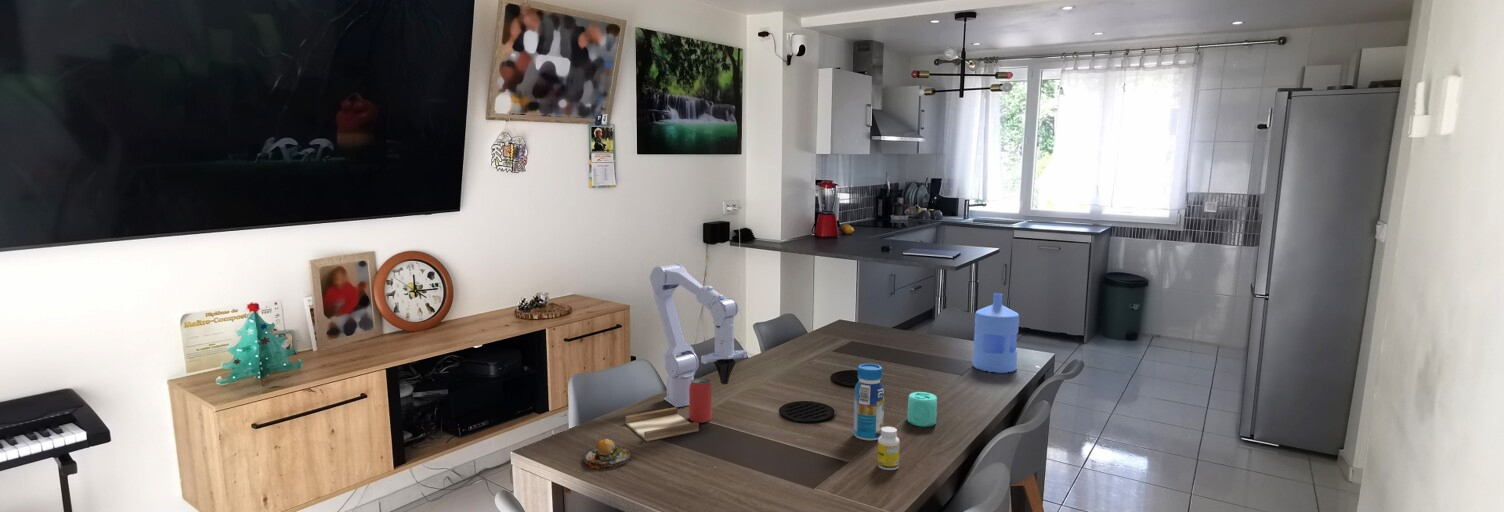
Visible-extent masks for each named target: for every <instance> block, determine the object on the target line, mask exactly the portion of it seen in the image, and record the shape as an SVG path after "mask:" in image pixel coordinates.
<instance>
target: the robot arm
mask: <svg viewBox="0 0 1504 512" xmlns="http://www.w3.org/2000/svg"><path fill="white" fill-rule="evenodd" d="M649 280H650V282H651V283H650V284H651V287H652V290H653V296H654V297H653V298H654V300H655V303H656V307H657V311H658V314H659V318H660V322H661V324H662V325H661V326H662V328H663V332H664V335H665V338H666V341H667V345H668V349H667V350H666V352H665V353H664V356H663V357H664V361H665V363H664V367H665V371H666V373H667V374H668V376H667V378H666V397H664V398H663V399H664V400H665V402H668V403H669V404H671V405H672V406H674V407H676V408H681V407H686V406H689V387H690V384H691V380H692V379H695V378H694V376H695V374H696V371H697V370H698V368H699V365H700V363H701V364H704V365H705V364H708V363H713V365H714V366H715V368H716V371H717V372H718V376H719V380H720V381H719V382H720V384H722V385H728V384H729V379H730V376H731V373H732V371H733V369H734V367H735V365H736V360H734V359H742V358H744V359H745V358H748V356H747V355H748V351H747V350H745V349H740V350H737V349H736V350H735V343H734V342H735V338H734V337H735V316H736V315H738V312H739V306H738V303H737V302H736V300H735V299H734V298H733V297H725V296H724V295H723V294H721V293H719V292H717V291H716V290H715V289H714V287H713V286H712V285H704V286H703V284H701V283H700V282H699V281H697V279H695V278H694V277H693V276H692V275H691V274H690V273H689V272H688V271H687V268H686V267H684V266H683V265H682V264H680V263H673V264H668V265H663V266H662V265H661V266H657V265H656V266H654V268H653V269H652V270H651V273H650V275H649ZM680 286H681V287H682V288H684V289H685V290H687V291H689V292H690V293H691V294H694V295H695V296H696V297H695V298H696V302H698V303H699V304H700V305H702V306H703V307H704V308H706V309H707V310H709V311H710V314H711V317H712V320H713V325H714V352H712V353H708V354H704V355H701V356H700V362H699V358H698V355H697V354H696V353H695V351H694V348H693V346H691V345H690V344H689V343H687V342H686V340H685V336H684V333H683V329H682V327H681V322H680V319H679V317H678V316H679V315H678V313H677V309H676V305H675V303H674V299H673V295H674V292H676V290H678V288H679V287H680Z"/></svg>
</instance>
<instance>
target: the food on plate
mask: <svg viewBox="0 0 1504 512" xmlns="http://www.w3.org/2000/svg"><path fill="white" fill-rule="evenodd" d="M602 438H603V439H601V440H600V441H599V442H598V444H597V446H596V448H593V449H590V450H589V451H587V452H586V453H585V454H584V464H586V465H588V467H589V468H591V469H594V468H595V469H596V470H612V469H618V468H621V467H624V466H627V464H629V462H631V461H632V458H633V457H632V451H631V450H630V449H628V448H626V447H623V446H620V445H619V446H618V445H615V442H614V441H613V440H611V439H608V438H604V437H602Z"/></svg>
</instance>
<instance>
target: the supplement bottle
mask: <svg viewBox="0 0 1504 512" xmlns="http://www.w3.org/2000/svg"><path fill="white" fill-rule="evenodd" d="M881 435H882V436H880V437H879V438H878V440H877V460H876V461H877V467H878V468H879V469H881V470H884V471H895V470H897V469H899V467H900V446H901V445H900V438H899V437H898V429H897V428H895V427H893V426H883V428H881Z"/></svg>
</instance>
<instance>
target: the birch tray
mask: <svg viewBox="0 0 1504 512" xmlns="http://www.w3.org/2000/svg"><path fill="white" fill-rule="evenodd" d="M624 418H625V425H627V426H628V427H629V428H630V429H631V430H632V431H634V432H635V433H636V434H637V435H638V436H640V437H641V439H643V440H644V441H646V442H649V441H655V440H660V439H664V438H669V437H674V436H680V435H685V434H690V433H694V432H696V433H697V432H699V431H700V423H698V422H690V421H688V420H687V419H685V418H684V417H683V416H681V415H680V414H678V407H675V406H674V407H670V408H664V409H658V410H654V411H653V410H652V411H646V412H642V413H641V412H640V413H635V414H629V415H625V416H624Z"/></svg>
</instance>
